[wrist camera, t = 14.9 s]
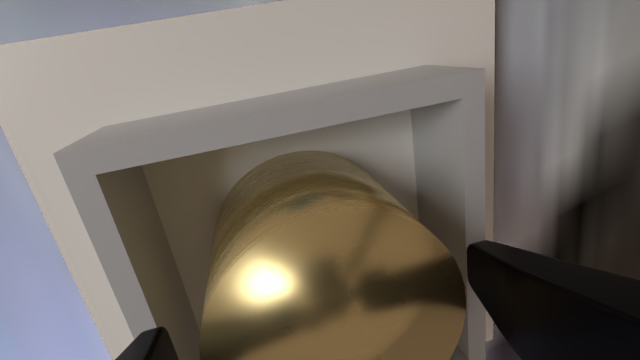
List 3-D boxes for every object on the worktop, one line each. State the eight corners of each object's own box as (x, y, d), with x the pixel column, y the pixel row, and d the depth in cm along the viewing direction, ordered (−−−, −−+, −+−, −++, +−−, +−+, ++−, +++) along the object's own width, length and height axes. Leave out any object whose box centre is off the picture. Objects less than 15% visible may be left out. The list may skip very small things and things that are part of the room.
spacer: (380, 133, 10) (463, 181, 6) (395, 286, 12) (468, 394, 8) (192, 172, 9) (160, 252, 6) (238, 328, 11) (237, 468, 7)
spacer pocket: (480, -28, 10) (581, -62, 7) (482, 328, 14) (546, 399, 11) (-17, 50, 8) (-158, 49, 5) (156, 427, 12) (131, 541, 9)
